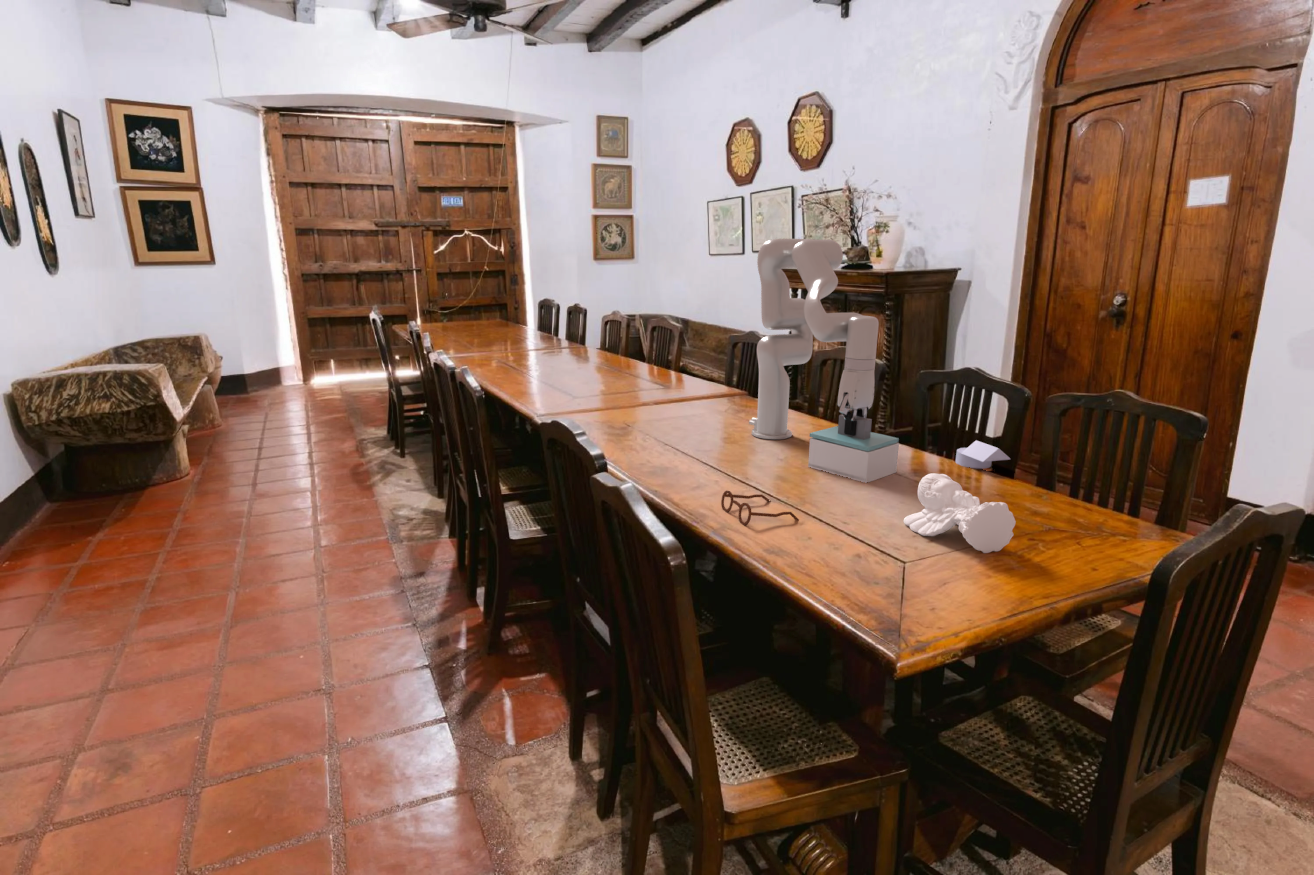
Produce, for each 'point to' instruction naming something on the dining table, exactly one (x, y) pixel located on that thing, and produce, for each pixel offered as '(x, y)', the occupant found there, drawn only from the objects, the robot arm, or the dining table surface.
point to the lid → (860, 440)
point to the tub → (853, 460)
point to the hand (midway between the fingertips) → (853, 433)
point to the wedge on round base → (979, 455)
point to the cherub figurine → (960, 514)
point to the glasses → (749, 507)
